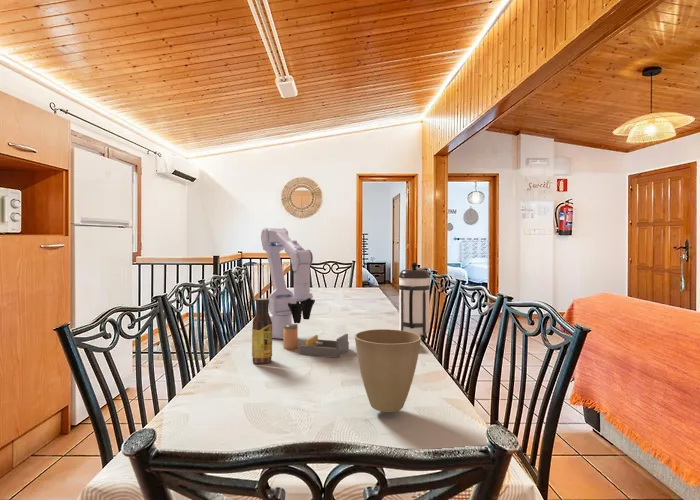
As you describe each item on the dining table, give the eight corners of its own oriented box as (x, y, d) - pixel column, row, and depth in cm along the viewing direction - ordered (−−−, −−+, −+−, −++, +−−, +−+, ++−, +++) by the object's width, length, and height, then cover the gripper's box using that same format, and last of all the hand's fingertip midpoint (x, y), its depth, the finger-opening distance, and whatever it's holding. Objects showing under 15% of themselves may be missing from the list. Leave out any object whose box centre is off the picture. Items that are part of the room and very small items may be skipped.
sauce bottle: (267, 365, 119) (266, 300, 119) (248, 364, 121) (248, 300, 121) (275, 359, 126) (275, 297, 126) (257, 358, 127) (257, 297, 127)
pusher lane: (299, 354, 132) (299, 336, 132) (312, 346, 142) (312, 330, 142) (337, 357, 127) (337, 340, 127) (348, 349, 137) (348, 333, 137)
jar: (280, 349, 137) (280, 325, 137) (287, 346, 142) (287, 323, 142) (293, 351, 136) (293, 326, 136) (300, 347, 140) (299, 324, 140)
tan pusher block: (305, 350, 132) (305, 340, 132) (315, 344, 140) (315, 334, 140) (317, 351, 131) (317, 341, 131) (326, 345, 139) (326, 335, 139)
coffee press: (386, 334, 161) (386, 262, 161) (418, 331, 167) (418, 261, 167) (410, 344, 145) (410, 263, 145) (444, 339, 152) (444, 263, 152)
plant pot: (382, 426, 78) (381, 347, 78) (342, 402, 90) (342, 333, 90) (435, 409, 86) (435, 337, 86) (392, 389, 98) (392, 326, 98)
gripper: (303, 285, 132) (303, 325, 132) (319, 282, 145) (319, 318, 146) (284, 285, 134) (284, 324, 134) (302, 281, 148) (302, 317, 148)
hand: (301, 321), depth 140 cm, fingers open, 7 cm apart
